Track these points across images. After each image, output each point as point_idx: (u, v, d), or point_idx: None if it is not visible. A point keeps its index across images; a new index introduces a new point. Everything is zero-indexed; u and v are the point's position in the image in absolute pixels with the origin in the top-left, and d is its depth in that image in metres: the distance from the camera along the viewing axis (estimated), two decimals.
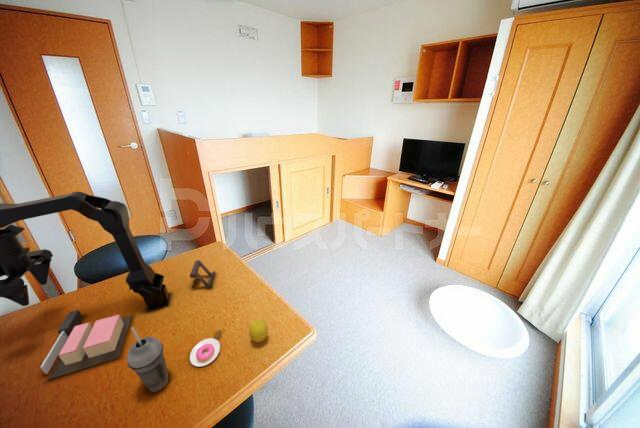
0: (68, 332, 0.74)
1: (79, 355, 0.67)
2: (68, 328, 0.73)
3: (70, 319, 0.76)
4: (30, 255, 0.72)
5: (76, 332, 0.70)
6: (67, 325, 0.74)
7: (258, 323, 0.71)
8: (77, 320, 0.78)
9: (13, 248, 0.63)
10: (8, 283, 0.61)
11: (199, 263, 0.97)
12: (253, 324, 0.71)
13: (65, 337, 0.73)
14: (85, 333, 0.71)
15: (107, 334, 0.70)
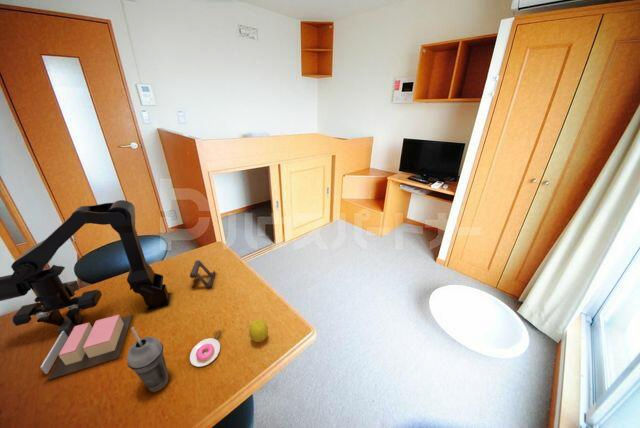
0: (68, 332, 0.74)
1: (79, 355, 0.67)
2: (68, 328, 0.73)
3: None
4: (82, 296, 0.75)
5: (76, 332, 0.70)
6: (67, 325, 0.74)
7: (258, 323, 0.71)
8: None
9: (56, 286, 0.70)
10: (17, 315, 0.68)
11: (199, 263, 0.97)
12: (253, 324, 0.71)
13: (65, 337, 0.73)
14: (85, 333, 0.71)
15: (107, 334, 0.70)
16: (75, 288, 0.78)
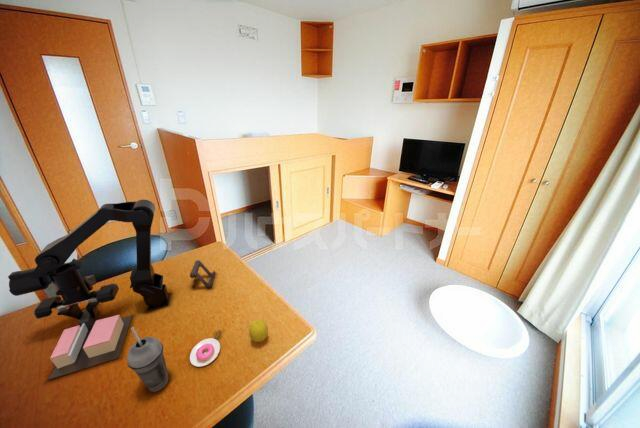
0: (88, 324, 0.75)
1: None
2: (88, 321, 0.75)
3: None
4: (101, 290, 0.77)
5: (66, 335, 0.69)
6: (87, 318, 0.76)
7: (258, 323, 0.71)
8: None
9: (76, 279, 0.71)
10: (38, 308, 0.70)
11: (199, 263, 0.97)
12: (253, 324, 0.71)
13: (86, 329, 0.75)
14: (76, 336, 0.70)
15: (107, 334, 0.70)
16: (93, 282, 0.80)
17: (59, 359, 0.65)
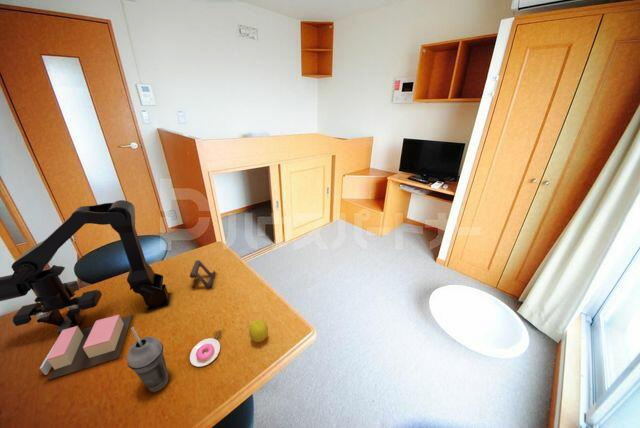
0: None
1: (68, 359, 0.66)
2: None
3: None
4: (83, 296, 0.75)
5: (64, 336, 0.69)
6: (67, 326, 0.74)
7: (258, 323, 0.71)
8: None
9: (56, 286, 0.70)
10: (17, 315, 0.68)
11: (199, 263, 0.97)
12: (253, 324, 0.71)
13: None
14: (73, 337, 0.70)
15: (107, 334, 0.70)
16: (75, 288, 0.78)
17: (56, 360, 0.64)
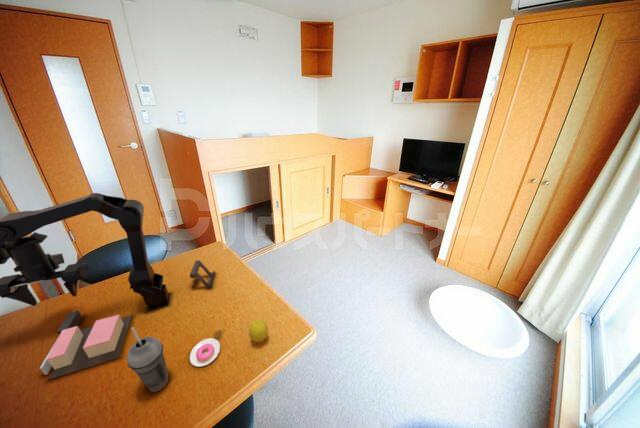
0: None
1: (68, 359, 0.66)
2: None
3: (70, 319, 0.76)
4: (67, 268, 0.70)
5: (64, 336, 0.69)
6: (67, 326, 0.74)
7: (258, 323, 0.71)
8: (77, 321, 0.78)
9: (37, 255, 0.65)
10: None
11: (199, 263, 0.96)
12: (253, 324, 0.71)
13: None
14: (73, 337, 0.70)
15: (107, 334, 0.70)
16: (60, 261, 0.73)
17: (56, 360, 0.64)
